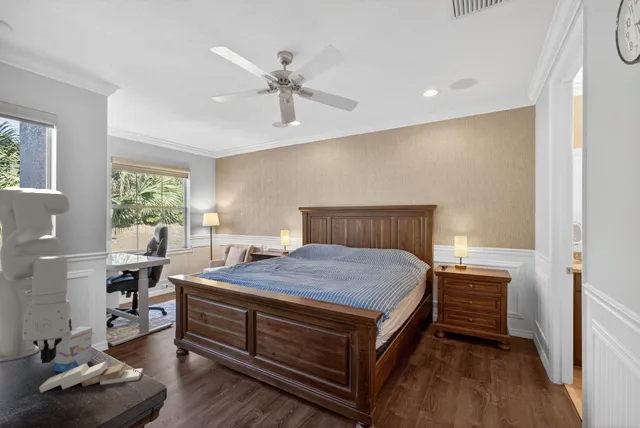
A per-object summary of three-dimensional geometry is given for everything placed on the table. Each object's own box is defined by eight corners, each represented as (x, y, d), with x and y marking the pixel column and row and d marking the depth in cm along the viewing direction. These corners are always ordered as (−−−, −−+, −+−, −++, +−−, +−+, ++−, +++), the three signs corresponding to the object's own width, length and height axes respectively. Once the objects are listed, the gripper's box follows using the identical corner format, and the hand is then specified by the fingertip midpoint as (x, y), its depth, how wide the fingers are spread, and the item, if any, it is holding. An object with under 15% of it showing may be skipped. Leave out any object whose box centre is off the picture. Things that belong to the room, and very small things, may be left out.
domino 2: (60, 384, 85) (99, 368, 88) (70, 375, 90) (106, 360, 93) (62, 389, 85) (101, 373, 88) (71, 380, 90) (108, 365, 93)
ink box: (66, 373, 94) (67, 335, 94) (53, 371, 95) (54, 334, 95) (91, 360, 103) (92, 326, 103) (80, 359, 104) (80, 325, 104)
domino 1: (39, 387, 84) (79, 370, 87) (48, 378, 88) (86, 362, 91) (41, 392, 84) (81, 375, 87) (50, 383, 88) (88, 367, 91)
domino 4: (100, 381, 88) (138, 376, 91) (106, 372, 93) (142, 367, 96) (100, 387, 88) (138, 381, 91) (106, 378, 93) (142, 372, 96)
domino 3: (90, 377, 92) (126, 367, 94) (82, 386, 87) (121, 375, 90) (89, 372, 92) (125, 362, 94) (81, 381, 87) (119, 370, 90)
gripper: (8, 303, 81) (6, 371, 80) (74, 299, 85) (72, 363, 85) (26, 296, 88) (24, 358, 88) (86, 293, 92) (84, 352, 92)
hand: (48, 361), depth 86 cm, fingers closed
